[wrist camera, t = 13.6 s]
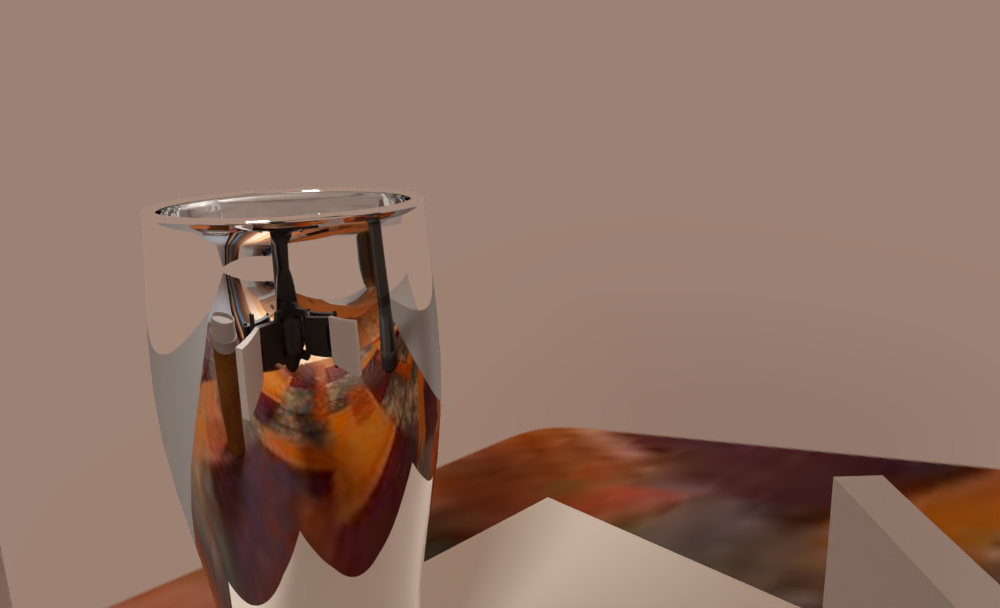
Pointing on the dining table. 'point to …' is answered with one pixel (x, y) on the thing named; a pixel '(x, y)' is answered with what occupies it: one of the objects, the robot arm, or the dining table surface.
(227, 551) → the beer glass
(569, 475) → the dining table surface
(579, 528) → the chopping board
